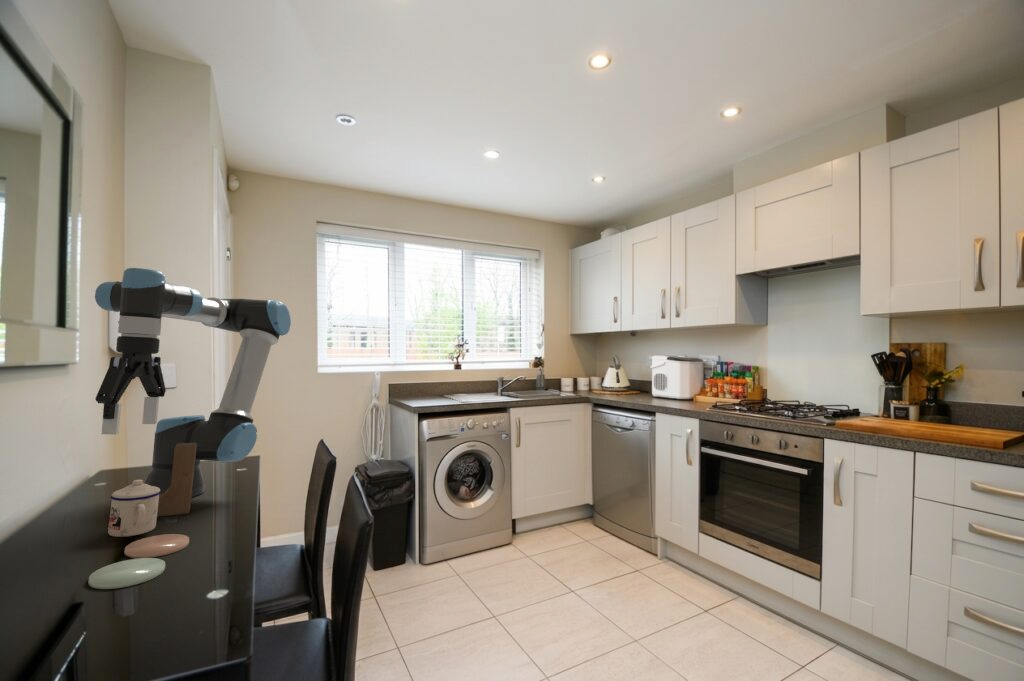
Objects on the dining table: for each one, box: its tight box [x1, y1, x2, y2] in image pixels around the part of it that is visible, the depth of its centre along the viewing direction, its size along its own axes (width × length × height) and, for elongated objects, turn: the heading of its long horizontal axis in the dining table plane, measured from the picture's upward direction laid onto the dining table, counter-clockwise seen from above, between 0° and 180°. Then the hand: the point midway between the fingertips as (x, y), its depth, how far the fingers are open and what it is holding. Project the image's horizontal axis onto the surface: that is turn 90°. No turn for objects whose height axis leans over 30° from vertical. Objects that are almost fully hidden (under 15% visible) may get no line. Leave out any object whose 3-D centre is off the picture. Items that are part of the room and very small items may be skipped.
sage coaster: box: [88, 557, 166, 590], centre depth 84 cm, size 11×11×1 cm
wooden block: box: [157, 443, 197, 518], centre depth 117 cm, size 9×4×18 cm, turn 122°
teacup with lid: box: [107, 479, 161, 538], centre depth 104 cm, size 12×9×12 cm
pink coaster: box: [124, 533, 190, 559], centre depth 96 cm, size 11×11×1 cm
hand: (131, 428), depth 101 cm, fingers open, 13 cm apart
